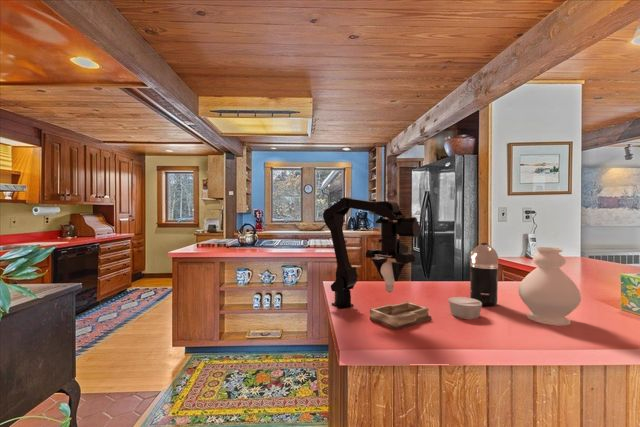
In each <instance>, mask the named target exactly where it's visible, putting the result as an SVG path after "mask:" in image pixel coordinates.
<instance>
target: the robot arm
mask: <svg viewBox="0 0 640 427" xmlns="http://www.w3.org/2000/svg"><path fill="white" fill-rule="evenodd" d="M350 209H354V210H359V211H367V212H371V213H373V214H375V215H377V216H379V217H378V218H377V220H376V221H375V223H376V224H380V238H379V239H378V242H379V243H380V249H377V248H370V249H367V250H366V252H365V258H368V259H370V261H372V263H373V264H374V266H375V268H376V269H377V272H378V274H379V275H380V276H379V277H380V278H381V279H384V278H383V276H382V274H381V271H380V270H381V266H382V265H383V264H384V263H385V262H387V260H388V259H392V260H395V261H391V262H392V268H393V275H394V279H395V281H394V282H398V281H399V279H400V276H401V273H402V270H403V269H404V267H405V266H406V265H407V264H409V263H415V262H416V255H415V254H414V253H410V252H409V248H410V247H409V246H407V245H405V244H403V243H401V239H400V238H398V236H399V237H402V238H418V237H419V235H420V232H421V228H420V224H419V222H418V217H406V216H405V215H404V214H403V212H402V211H401V209H400V205H399V203H398V202H396V201H391V200H389V201H388V200H384V201H383V200H380V201H373V200H371V201H370V200H364V199H358V198H353V197H346V196H344V197H342V198H340V199H339V200H338V201H337V202H335V203H334V204H331V206H329V208H325V210H324V212H323V213H322V217H323V218H322V219H323V220H324V224H325V225H326V228H327V229H328V230H330V235H331V240H332V244H333V245H332V246H333V250H334V255H335V260H336V265H337V267H336V271H335V280H334V282H333V283H331V285H330V289H331V292H334V302H331V305H333V306H335V307H336V308H340V309H345V308H349V307H354V303H352V295H351V290H353V289H354V287H355V285H356V284H357V282H358V277H359V275H358V273H357V267H356V266H352V265H351V263H350V259H349V255H348V249H347V245H346V241H345V240H346V239H345V235H344V231H343V226H344V223H345V217H344V216H346V215H347V214H348V213H349V211H350Z"/></svg>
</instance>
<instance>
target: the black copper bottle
mask: <svg viewBox="0 0 640 427" xmlns="http://www.w3.org/2000/svg"><path fill="white" fill-rule="evenodd" d="M469 263H470V264H469V265H470V292H469V293H470V294H469V295H470V297H469V298H472V299H476V300H478V301H480V302H481V303H482V307H494V306H496V305H497V304H498V293H499V292H498V291H499V290H498V284H499V283H498V281H499V280H498V275H499V273H498V272H499V271H498V269H499V255H498V252H497V251H496V250H495V249H494V248H493V247H492V246H491V245H489V243H487V242H481V243H480V244H479V245H477V246H475V247H474V248H473V250H472V251H471V252H470V262H469Z"/></svg>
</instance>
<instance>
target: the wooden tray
mask: <svg viewBox="0 0 640 427" xmlns="http://www.w3.org/2000/svg"><path fill="white" fill-rule="evenodd" d="M369 320H371V321H373V322H376V323H379V324H381V325H383V326H386V327H388V328H390V329H393V330H395V331H397V330H401V329H403V328H407V327H409V326H413V325H416V324H420V323H423V322H426V321H431V320H432V315H429V307H425V306H422V305H419V304H415V303H413V302H409V301H405V302H401V303H397V304H386V305H383V306H382V305H381V306H379V307H374V308H370V309H369Z"/></svg>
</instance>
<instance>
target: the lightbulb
mask: <svg viewBox="0 0 640 427" xmlns="http://www.w3.org/2000/svg"><path fill="white" fill-rule="evenodd" d="M392 262H393V261H389V260H388V261H386V262H385V263H384V264H383V265H382V266H381V270H380V271H381V274H382V276H383V278H382V279H383V280H384V283H385V291H386V292H387V293H392V292H393V291H394V284H395V282H396V281H395V279H394V275H393V268H392Z"/></svg>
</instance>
